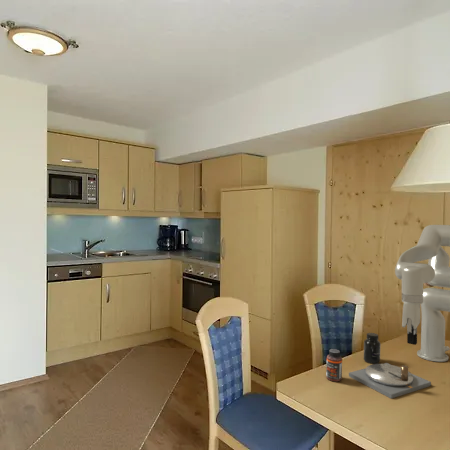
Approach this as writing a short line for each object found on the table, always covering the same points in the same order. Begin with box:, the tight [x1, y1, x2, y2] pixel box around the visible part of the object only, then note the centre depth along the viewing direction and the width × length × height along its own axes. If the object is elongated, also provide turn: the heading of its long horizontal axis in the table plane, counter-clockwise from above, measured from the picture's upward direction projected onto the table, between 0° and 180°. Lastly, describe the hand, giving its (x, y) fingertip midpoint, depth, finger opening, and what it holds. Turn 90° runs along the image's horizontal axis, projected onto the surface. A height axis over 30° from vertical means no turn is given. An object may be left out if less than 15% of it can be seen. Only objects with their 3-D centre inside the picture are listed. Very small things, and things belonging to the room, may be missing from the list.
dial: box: [365, 363, 413, 387], centre depth 144 cm, size 17×17×6 cm
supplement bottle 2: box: [363, 332, 382, 364], centre depth 164 cm, size 7×7×12 cm
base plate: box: [348, 362, 432, 399], centre depth 144 cm, size 22×20×2 cm
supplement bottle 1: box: [325, 348, 343, 383], centre depth 146 cm, size 6×6×11 cm
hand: (412, 343), depth 145 cm, fingers closed
